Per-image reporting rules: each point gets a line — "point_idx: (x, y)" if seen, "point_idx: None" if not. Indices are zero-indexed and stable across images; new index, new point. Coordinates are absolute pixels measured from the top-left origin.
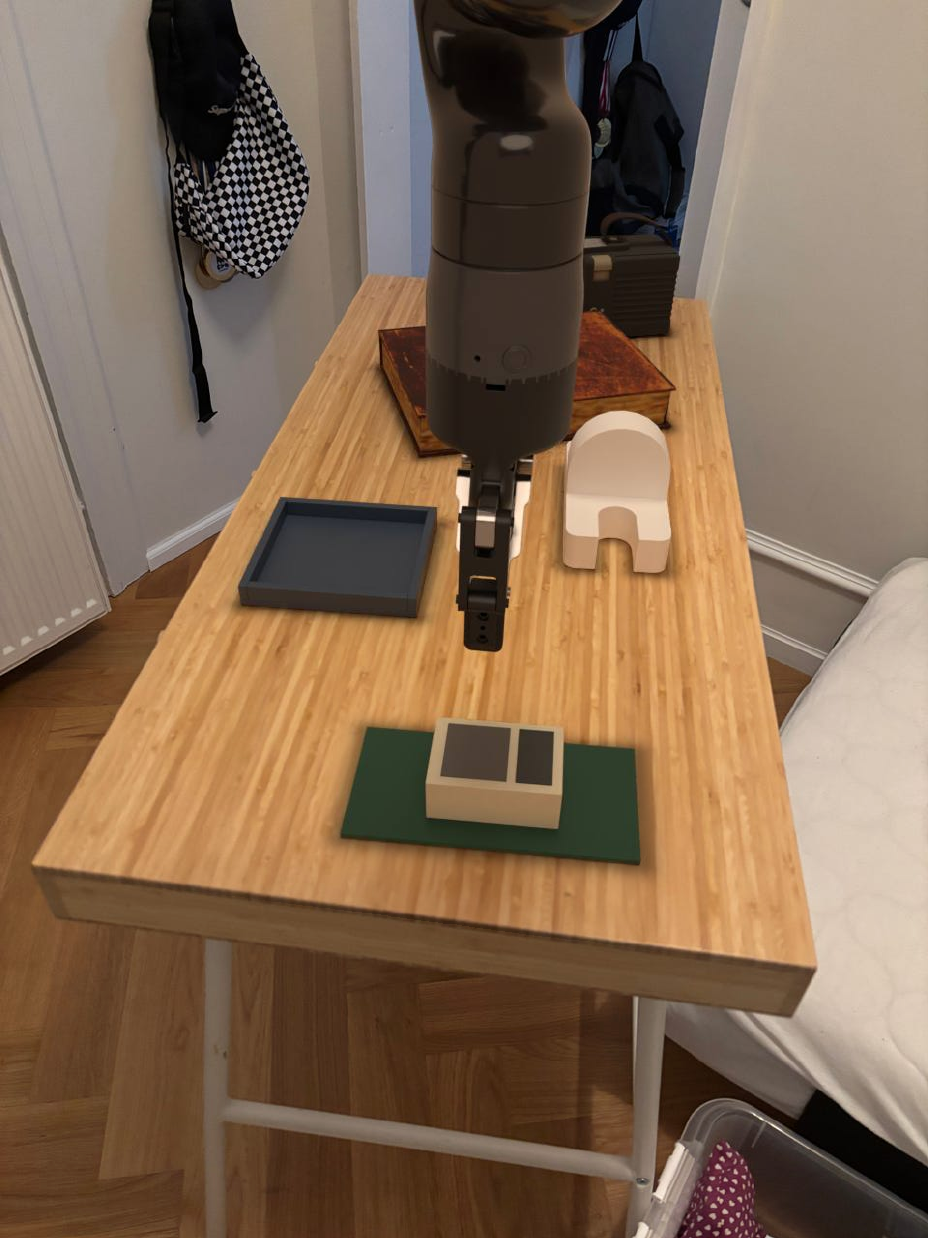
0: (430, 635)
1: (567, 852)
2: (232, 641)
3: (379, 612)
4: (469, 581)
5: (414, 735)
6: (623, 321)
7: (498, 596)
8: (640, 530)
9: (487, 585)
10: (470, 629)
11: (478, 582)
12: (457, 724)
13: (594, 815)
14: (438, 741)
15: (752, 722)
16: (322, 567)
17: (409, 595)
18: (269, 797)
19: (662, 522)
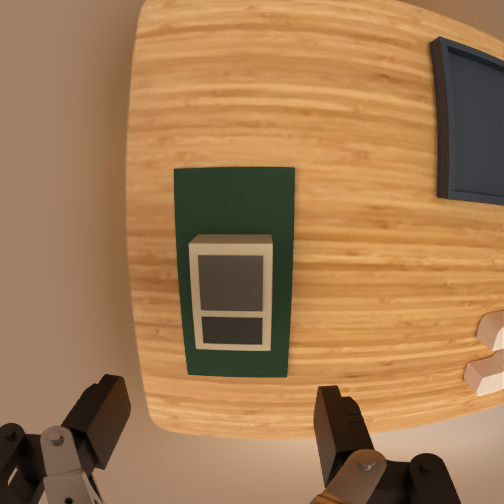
0: (416, 211)
1: (184, 334)
2: (386, 38)
3: (439, 162)
4: (18, 461)
5: (288, 211)
6: None
7: (13, 479)
8: (490, 377)
9: (40, 473)
10: (76, 404)
11: (44, 466)
12: (261, 264)
13: (219, 352)
14: (240, 248)
15: None
16: (480, 109)
17: (451, 192)
18: (208, 102)
19: (493, 388)
